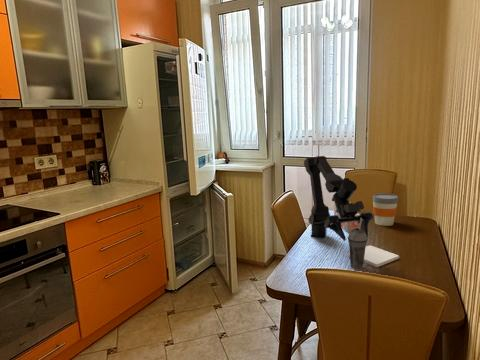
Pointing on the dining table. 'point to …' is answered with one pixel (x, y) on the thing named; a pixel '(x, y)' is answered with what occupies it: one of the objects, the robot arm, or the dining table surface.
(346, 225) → the patterned box
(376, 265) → the board
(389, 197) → the reusable coffee cup
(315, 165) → the robot arm
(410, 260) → the dining table surface
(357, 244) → the beverage cup
